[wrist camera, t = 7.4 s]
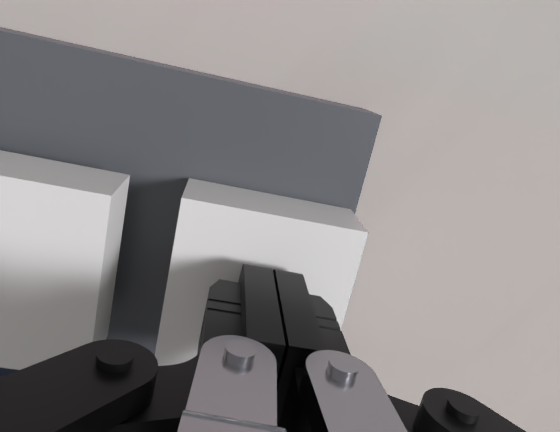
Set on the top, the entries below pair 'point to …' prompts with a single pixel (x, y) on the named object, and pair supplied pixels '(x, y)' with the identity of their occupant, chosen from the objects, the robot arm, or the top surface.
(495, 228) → the top surface
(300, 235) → the inner key
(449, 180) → the top surface
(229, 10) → the top surface
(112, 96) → the keypad
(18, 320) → the middle key
